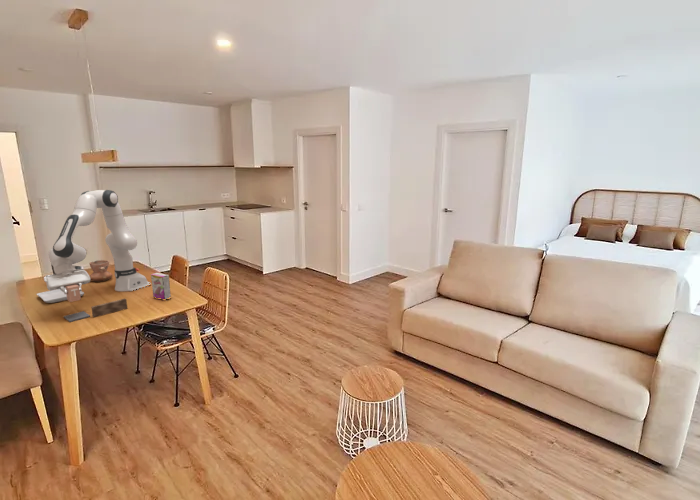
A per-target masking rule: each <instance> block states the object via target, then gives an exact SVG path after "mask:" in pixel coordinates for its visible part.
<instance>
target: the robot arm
mask: <svg viewBox="0 0 700 500" xmlns="http://www.w3.org/2000/svg"><path fill="white" fill-rule="evenodd" d="M97 209H102V211H101V212H102V215H103V218H104V222H105V225H106V227H107V229H108V230H109V231H110V232H111V233H108V234H107V235H106V237H105V244H106V245H107V246H108V248H109V250H110V253H111V255H112V258H113V259H112V260H113V264H114V278H115V286H114V290H115V291H116V292H133V290H134V291H137V290H140V289H139V288H141V289H143V288H142V287H144V288H146V287H145V286H147V285H150V284H151V285H152V282H150V281H148V279H147V278H146V276H145V275H143V274H141V273H139V271H140V268H138V267H134V261H133V256H132V255H131V253H130V251H133V250H134V249H136V247H137V246H138V239H137V238H136V237H135V236H134V234H132V232H131V231H130V230H131V229H129V227H128V225H127V223H126V219H125V217H124V214H123V213H124V212H123V209H122V208H121V205H120V203H119V197H118V194H117V193H116V192H115V191H114V190H111V189H96V190H90V191H89V190H87V191H83V192H82V193H81V194H80V195H79V196H78V198H77V200H76V201H75V205H74V208H73V211H72V213H71V214H70V215H69V216H68V217H66V220H65V222H64V224H63V227H62V229H61V232H60V234H59V236H58V238H57V239H56V241H55V242H54V244H53V246H52V248H50V249H49V251H48V259H49V261H50V262H49V263H50V266H51V265H52V266H53V267H54V272H55V274H53V273H52V274H46V275H45V276H44V277H43V281H44V282H45V283H46V288H47V291H52V290H57V289H60V290H61V291H62V292H64V294H68V290H65V289H63V288H66V287H65V286H70V285H75V284H76V285H78V286H79V289H80V291H82V292H83V290H82V289H83V288H82V285H86V284H90V282H91V279H90V275H89V273H88V272H87V271H86V270H85V268H84V266H82V265H75V264H77V263H80V262H82V261H83V260H84V259H85V258H86V257H87V255H88V254H87V249H86V248H85V247H84V246H81V245H80V244H77V243H74V241H73V238H74V236H75V233H76V230H77V228H78V227H87V226H89V225H91V224H93V222H94V220H95V218H96V215H97ZM52 266H51V267H52ZM149 283H150V284H149ZM147 287H148V286H147ZM136 289H137V290H136Z"/></svg>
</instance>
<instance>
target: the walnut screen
mask: <svg viewBox="0 0 700 500" xmlns="http://www.w3.org/2000/svg"><path fill="white" fill-rule="evenodd" d="M123 309H124V310H127V309H128V303H127V299H126V298H121V299H117V300H113V301H110V302H105V303H101V304H98V305H94V306H91V314H92V315H91V316H92V317H93V318H98V317H101V316H105V315H108V314H112V313H115V312H116V313H117V312H119V311H124V310H123Z"/></svg>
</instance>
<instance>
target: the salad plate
mask: <svg viewBox="0 0 700 500" xmlns="http://www.w3.org/2000/svg"><path fill="white" fill-rule="evenodd" d="M63 289H65V290H66V288H63ZM84 295H85V292H84V291H83V290H82V291H80V297H82V296H84ZM36 296H37V297H38V298H41V300H43V302H44V303H47V304H54V303H58V302H63V301H64V302H65V301H68V300H67V294H64V292H62V291H61V290H60V289H56V290H51V291H50V290H46V291H43V292H38V293H36Z"/></svg>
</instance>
